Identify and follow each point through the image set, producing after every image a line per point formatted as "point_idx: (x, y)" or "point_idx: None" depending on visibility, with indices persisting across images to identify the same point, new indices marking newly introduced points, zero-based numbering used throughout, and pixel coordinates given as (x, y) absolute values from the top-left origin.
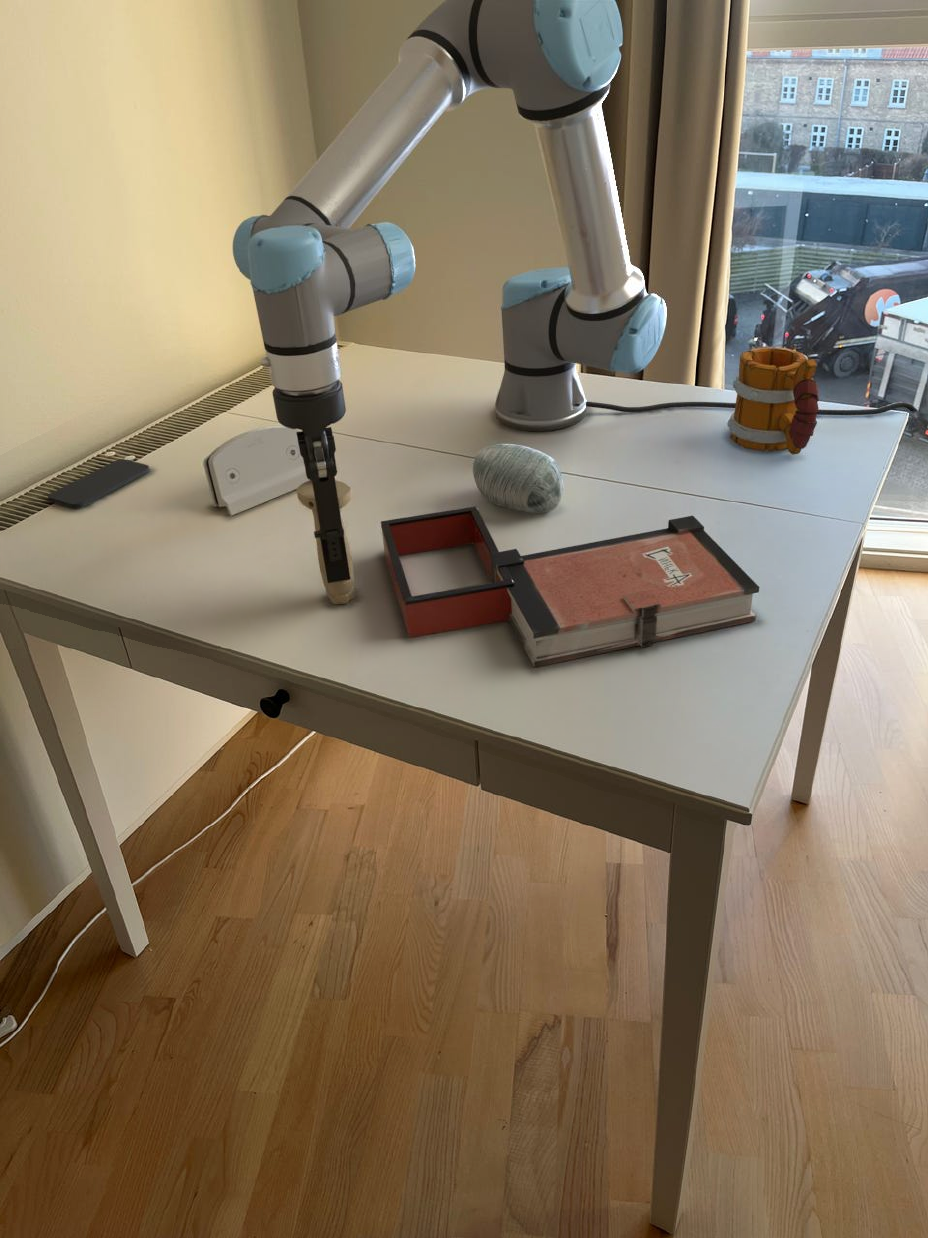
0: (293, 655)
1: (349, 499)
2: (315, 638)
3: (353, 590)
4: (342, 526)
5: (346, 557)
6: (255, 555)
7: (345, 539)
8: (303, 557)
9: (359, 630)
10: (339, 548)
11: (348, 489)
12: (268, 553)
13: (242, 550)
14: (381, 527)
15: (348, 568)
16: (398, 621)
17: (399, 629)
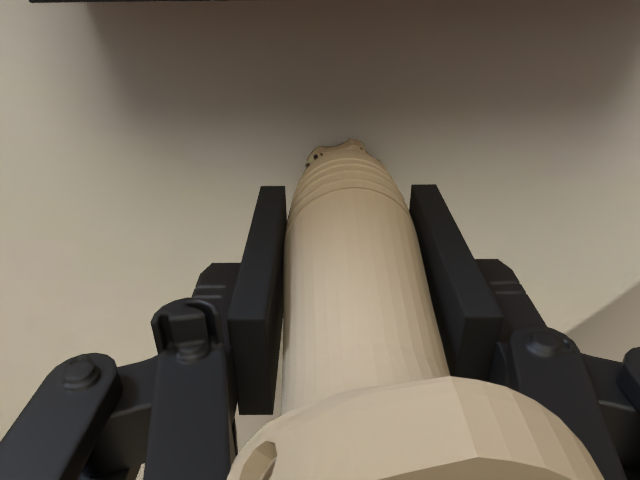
0: (559, 304)
1: (538, 411)
2: (513, 255)
3: (362, 147)
4: (547, 348)
5: (461, 234)
6: (54, 365)
7: (400, 254)
8: (73, 258)
9: (536, 140)
10: (527, 301)
11: (503, 474)
12: (44, 338)
13: (25, 389)
14: (52, 2)
15: (446, 207)
16: (552, 5)
17: (600, 9)
